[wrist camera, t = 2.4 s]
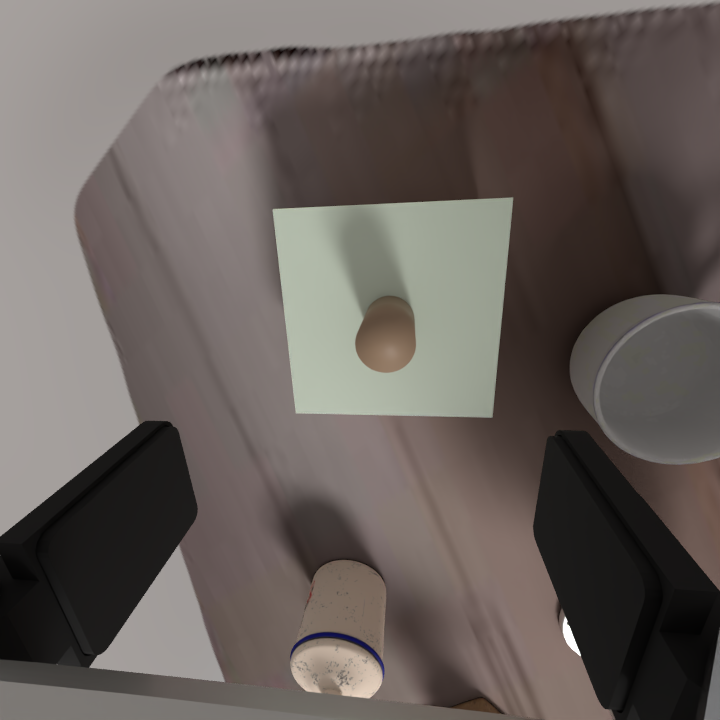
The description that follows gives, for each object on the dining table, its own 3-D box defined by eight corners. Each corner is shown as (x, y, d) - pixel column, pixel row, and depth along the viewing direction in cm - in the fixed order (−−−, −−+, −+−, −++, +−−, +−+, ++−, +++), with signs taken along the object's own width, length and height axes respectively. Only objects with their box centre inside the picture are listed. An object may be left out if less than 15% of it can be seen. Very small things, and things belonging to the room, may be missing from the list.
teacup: (566, 422, 33) (612, 481, 26) (540, 308, 30) (583, 339, 23) (750, 377, 30) (863, 430, 23) (743, 244, 27) (871, 256, 19)
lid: (507, 198, 22) (542, 192, 16) (488, 409, 27) (510, 461, 21) (278, 209, 24) (237, 207, 18) (300, 405, 29) (273, 452, 23)
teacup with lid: (299, 562, 43) (263, 678, 33) (373, 550, 41) (361, 668, 30) (336, 633, 47) (314, 757, 36) (406, 624, 45) (405, 754, 34)
